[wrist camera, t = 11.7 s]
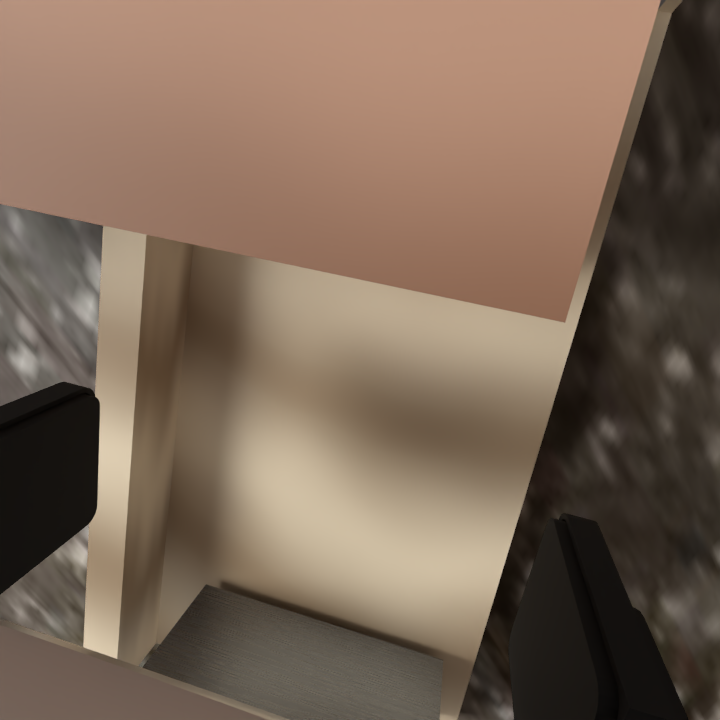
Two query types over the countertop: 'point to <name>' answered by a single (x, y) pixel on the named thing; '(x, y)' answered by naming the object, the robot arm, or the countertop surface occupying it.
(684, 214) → the countertop surface
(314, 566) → the book rack
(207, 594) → the bookend
